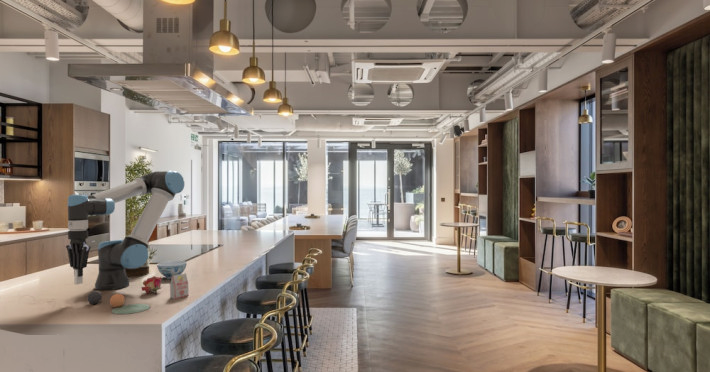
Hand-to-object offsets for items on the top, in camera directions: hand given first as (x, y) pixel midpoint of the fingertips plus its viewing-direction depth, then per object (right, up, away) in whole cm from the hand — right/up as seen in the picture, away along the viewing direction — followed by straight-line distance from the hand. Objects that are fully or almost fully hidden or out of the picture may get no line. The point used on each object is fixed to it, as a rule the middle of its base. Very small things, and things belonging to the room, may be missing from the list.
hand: (78, 283), depth 201 cm
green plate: (+29, -8, -12) cm, 32 cm away
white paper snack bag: (+42, -8, +7) cm, 43 cm away
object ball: (+22, -5, -9) cm, 24 cm away
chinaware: (+22, -7, +48) cm, 53 cm away
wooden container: (-3, -7, +58) cm, 58 cm away
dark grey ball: (+9, -5, -3) cm, 11 cm away
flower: (+26, -8, +14) cm, 30 cm away
